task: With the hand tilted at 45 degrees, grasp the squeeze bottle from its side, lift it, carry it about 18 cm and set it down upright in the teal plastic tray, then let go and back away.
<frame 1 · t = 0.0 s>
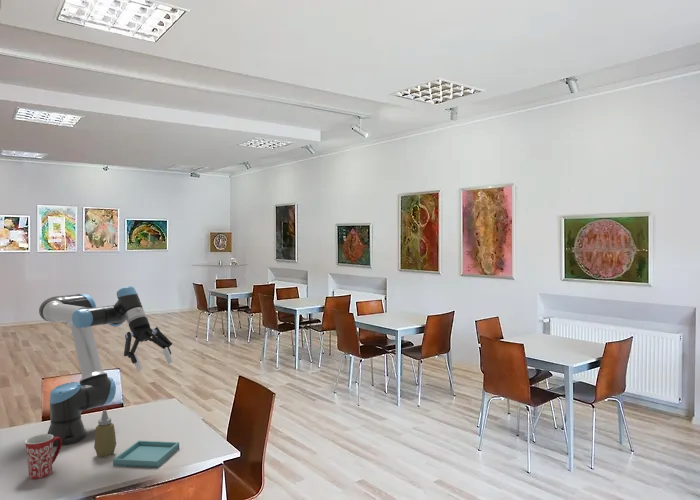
hand: (155, 366, 200), 36 cm above the table, tool tilted 35°, fingers open, 13 cm apart
mug: (45, 473, 187), on the table
tray: (147, 456, 200), on the table
squeeze bottle: (105, 455, 202), on the table
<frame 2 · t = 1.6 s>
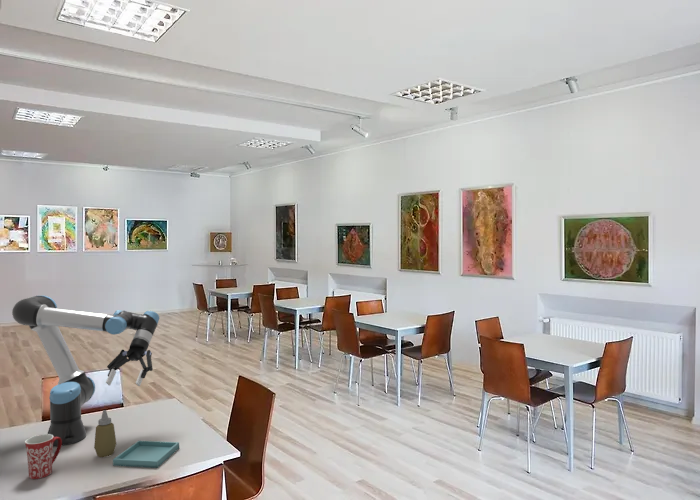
hand: (122, 384, 214), 25 cm above the table, tool tilted 45°, fingers open, 13 cm apart
nothing on the table moved.
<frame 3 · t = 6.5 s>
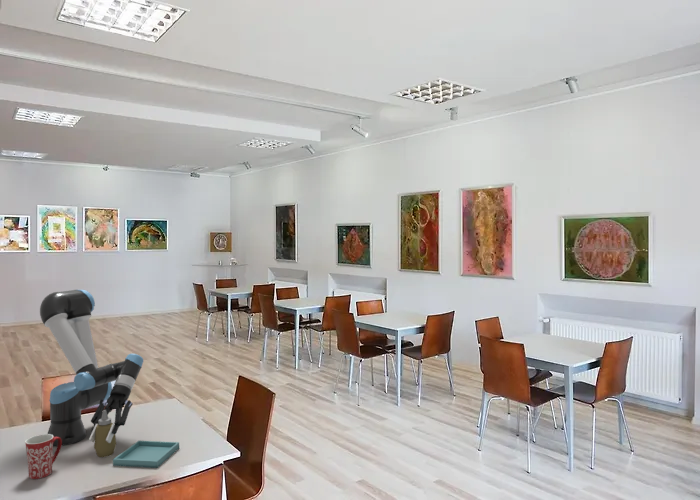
hand: (99, 441, 199), 7 cm above the table, tool tilted 45°, fingers closed on squeeze bottle, 6 cm apart
squeeze bottle: (105, 455, 202), on the table, touching gripper
everything else where it was.
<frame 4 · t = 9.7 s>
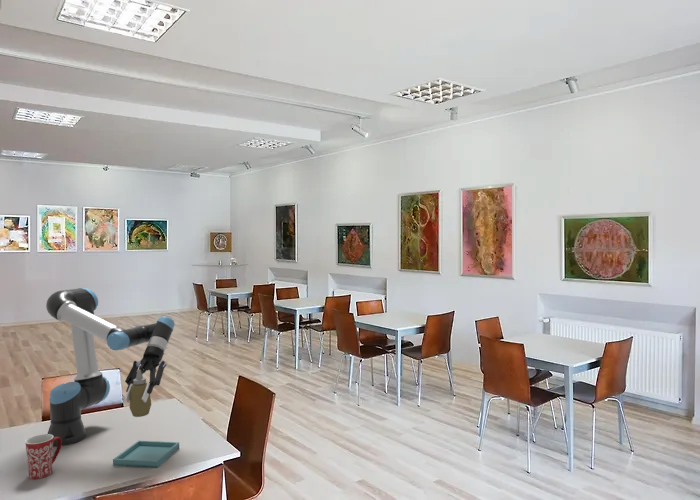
hand: (135, 400, 196), 24 cm above the table, tool tilted 45°, fingers closed on squeeze bottle, 6 cm apart
squeeze bottle: (140, 415, 200), point 17 cm above the table, touching gripper
everything else where it was.
when the fingers open (9 cm above the table, at t = 13.2 s): squeeze bottle drops 1 cm, resting on tray.
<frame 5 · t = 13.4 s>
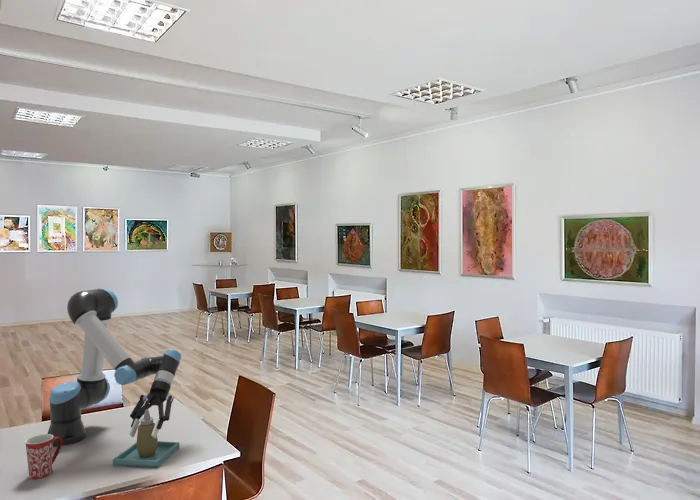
hand: (142, 436, 196), 9 cm above the table, tool tilted 45°, fingers open, 8 cm apart
squeeze bottle: (147, 454, 200), point 1 cm above the table, touching tray
everything else where it was.
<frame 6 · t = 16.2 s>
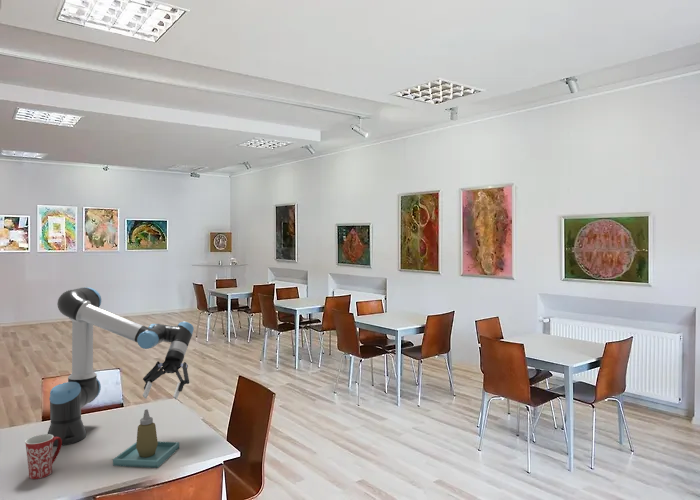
hand: (159, 397, 210), 20 cm above the table, tool tilted 45°, fingers open, 13 cm apart
nothing on the table moved.
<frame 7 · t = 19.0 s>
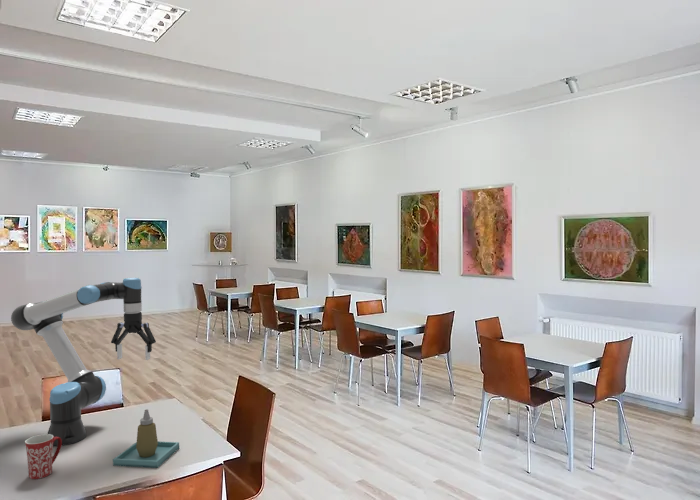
hand: (133, 359, 227), 33 cm above the table, tool pointing down, fingers open, 13 cm apart
nothing on the table moved.
at the end: squeeze bottle inside the target area on the tray (0.1 cm from its centre), point 0.6 cm above the tray's base; squeeze bottle tilted 0°; the gripper is holding nothing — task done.
